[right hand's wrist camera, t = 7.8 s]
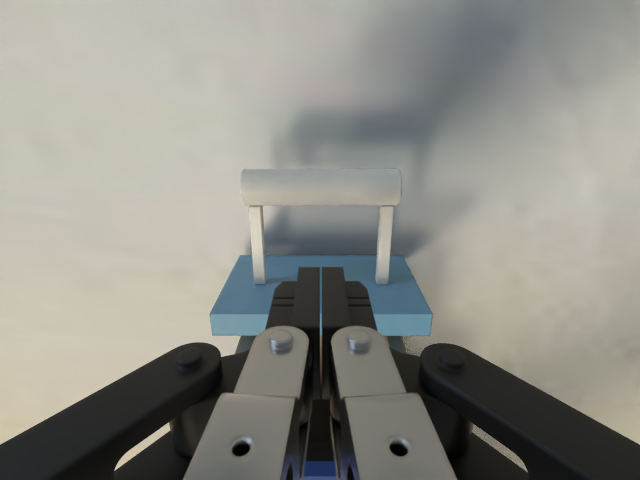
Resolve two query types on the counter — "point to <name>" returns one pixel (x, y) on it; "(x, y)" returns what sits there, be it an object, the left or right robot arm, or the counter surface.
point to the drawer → (371, 270)
